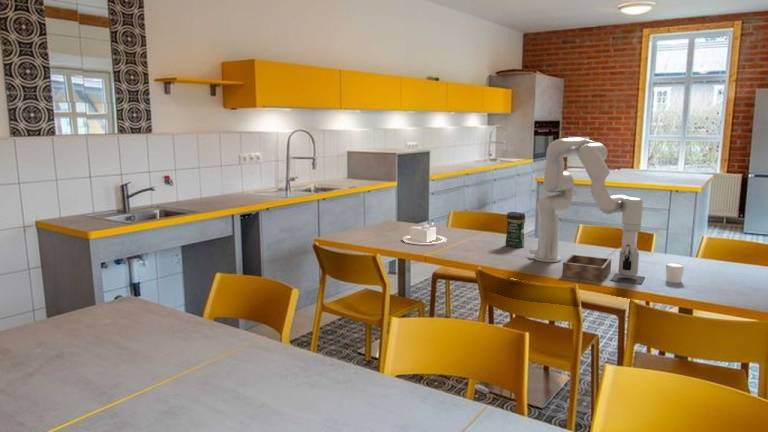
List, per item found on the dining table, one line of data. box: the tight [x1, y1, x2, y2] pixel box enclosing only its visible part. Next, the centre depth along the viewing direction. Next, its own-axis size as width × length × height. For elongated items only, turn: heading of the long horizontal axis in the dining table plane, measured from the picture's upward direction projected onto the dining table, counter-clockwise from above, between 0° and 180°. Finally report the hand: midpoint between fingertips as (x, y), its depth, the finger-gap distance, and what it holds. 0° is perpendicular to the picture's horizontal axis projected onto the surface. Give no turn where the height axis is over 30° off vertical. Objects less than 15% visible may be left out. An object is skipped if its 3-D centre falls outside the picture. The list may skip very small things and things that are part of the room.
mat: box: [610, 272, 646, 286], centre depth 244 cm, size 12×12×1 cm
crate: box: [561, 254, 612, 282], centre depth 252 cm, size 17×17×6 cm
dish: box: [401, 222, 447, 245], centre depth 321 cm, size 25×25×11 cm
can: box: [618, 247, 640, 277], centre depth 242 cm, size 8×8×12 cm
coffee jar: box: [505, 211, 526, 248], centre depth 305 cm, size 10×8×19 cm
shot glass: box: [665, 262, 685, 284], centre depth 240 cm, size 7×7×7 cm
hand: (628, 267), depth 243 cm, fingers closed on can, 7 cm apart
